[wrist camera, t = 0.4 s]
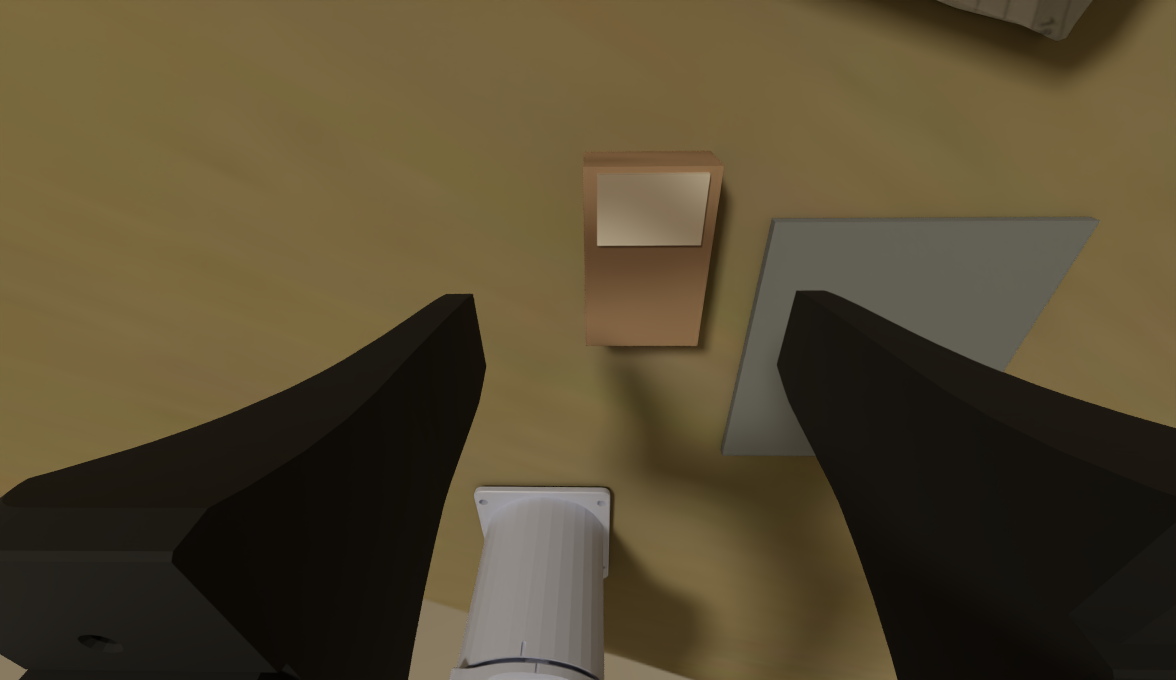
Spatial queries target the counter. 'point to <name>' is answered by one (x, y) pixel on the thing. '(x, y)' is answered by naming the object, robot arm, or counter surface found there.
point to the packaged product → (1030, 13)
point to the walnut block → (648, 245)
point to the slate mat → (897, 297)
